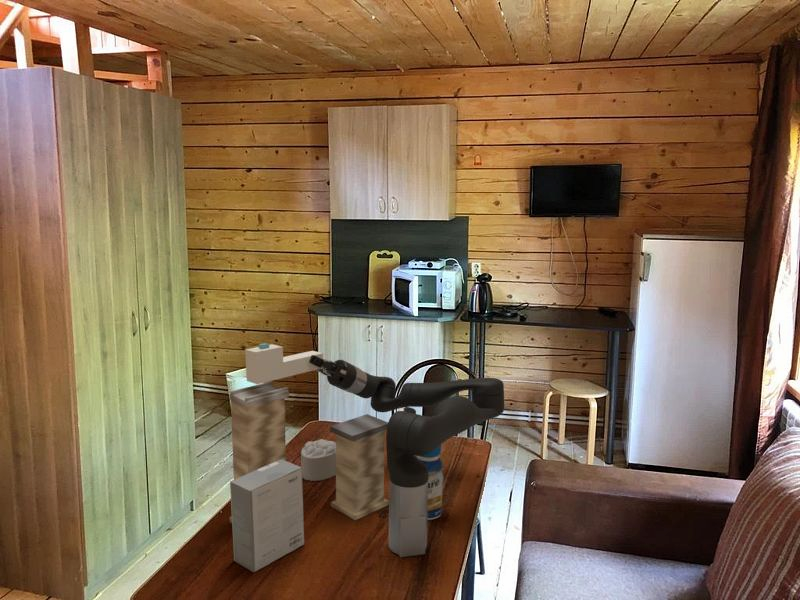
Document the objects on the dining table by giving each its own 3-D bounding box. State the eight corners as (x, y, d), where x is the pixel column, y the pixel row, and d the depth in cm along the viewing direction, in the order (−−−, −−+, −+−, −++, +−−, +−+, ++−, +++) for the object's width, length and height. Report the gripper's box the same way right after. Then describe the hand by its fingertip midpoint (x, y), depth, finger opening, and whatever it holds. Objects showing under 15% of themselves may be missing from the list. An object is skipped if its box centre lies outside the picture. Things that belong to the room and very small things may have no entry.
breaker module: (312, 365, 179) (311, 332, 178) (323, 367, 176) (322, 334, 175) (246, 380, 164) (245, 345, 163) (257, 384, 161) (255, 348, 160)
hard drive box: (284, 533, 163) (282, 458, 159) (305, 544, 158) (304, 467, 155) (232, 561, 151) (229, 480, 147) (253, 574, 146) (250, 490, 143)
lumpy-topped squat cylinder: (345, 466, 201) (345, 440, 200) (322, 484, 190) (322, 456, 188) (316, 460, 206) (316, 434, 204) (292, 476, 194) (292, 449, 192)
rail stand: (272, 504, 177) (269, 380, 171) (292, 516, 171) (290, 388, 165) (229, 521, 168) (224, 391, 162) (248, 535, 162) (244, 400, 156)
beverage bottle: (445, 507, 177) (447, 437, 173) (438, 523, 169) (440, 450, 165) (415, 503, 179) (416, 433, 175) (406, 518, 171) (408, 445, 167)
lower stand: (365, 491, 185) (365, 413, 181) (390, 504, 178) (391, 423, 174) (329, 507, 176) (328, 425, 172) (353, 521, 169) (353, 436, 165)
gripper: (359, 394, 180) (316, 375, 168) (326, 384, 190) (283, 365, 178) (369, 369, 182) (327, 347, 170) (335, 360, 191) (293, 340, 180)
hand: (305, 357), depth 174 cm, fingers closed on breaker module, 4 cm apart
